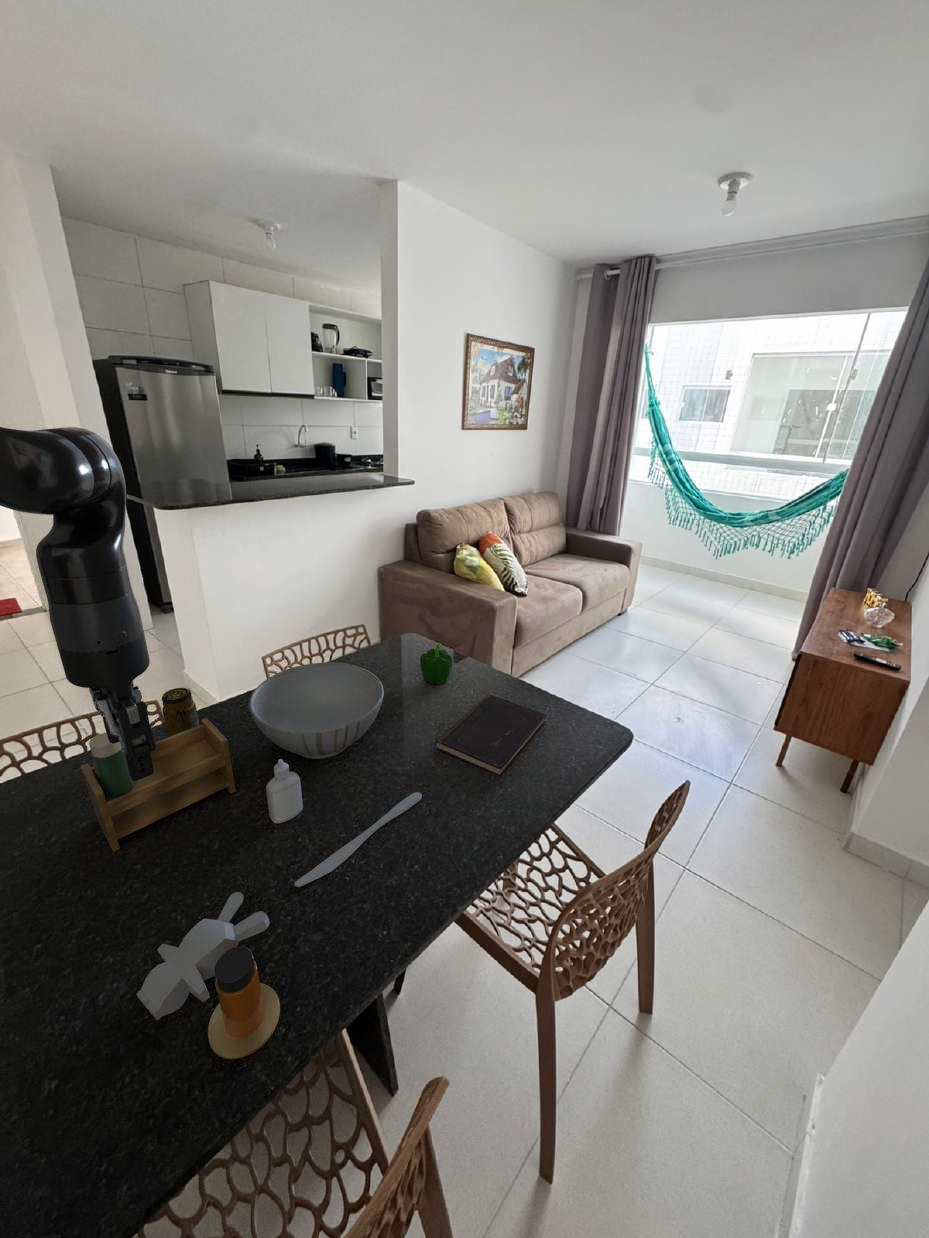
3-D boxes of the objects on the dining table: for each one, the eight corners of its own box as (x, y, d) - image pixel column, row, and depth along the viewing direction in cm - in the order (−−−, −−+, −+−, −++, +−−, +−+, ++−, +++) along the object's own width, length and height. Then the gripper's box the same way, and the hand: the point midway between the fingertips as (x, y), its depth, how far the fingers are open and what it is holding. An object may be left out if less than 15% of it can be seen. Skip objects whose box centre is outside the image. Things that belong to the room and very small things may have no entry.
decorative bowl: (343, 798, 96) (340, 746, 91) (227, 763, 103) (218, 712, 98) (404, 721, 119) (404, 676, 114) (305, 696, 126) (301, 653, 122)
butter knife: (427, 797, 96) (416, 789, 98) (301, 892, 77) (290, 880, 79) (427, 799, 96) (416, 791, 98) (301, 895, 77) (290, 882, 79)
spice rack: (113, 852, 82) (95, 794, 78) (97, 821, 88) (80, 765, 83) (236, 791, 96) (227, 739, 91) (216, 768, 102) (206, 717, 97)
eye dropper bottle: (303, 820, 90) (297, 766, 86) (269, 825, 89) (261, 771, 84) (303, 802, 94) (297, 750, 89) (271, 807, 93) (263, 754, 88)
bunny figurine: (119, 972, 62) (228, 876, 73) (133, 994, 65) (237, 898, 75) (162, 1023, 57) (271, 912, 68) (175, 1044, 60) (279, 933, 71)
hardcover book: (545, 722, 121) (546, 714, 120) (500, 777, 103) (501, 768, 102) (486, 701, 129) (487, 693, 128) (434, 748, 110) (435, 740, 109)
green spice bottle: (107, 802, 82) (91, 751, 78) (99, 788, 84) (84, 738, 80) (137, 789, 85) (124, 739, 80) (129, 775, 87) (116, 727, 83)
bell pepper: (439, 692, 131) (440, 657, 127) (414, 681, 135) (414, 648, 131) (457, 678, 138) (459, 645, 134) (433, 669, 142) (434, 637, 138)
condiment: (189, 728, 113) (180, 681, 108) (216, 740, 109) (208, 692, 104) (158, 746, 107) (147, 697, 102) (186, 759, 103) (175, 710, 98)
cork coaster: (226, 1077, 57) (225, 1074, 56) (197, 1019, 61) (196, 1017, 61) (292, 1020, 62) (292, 1017, 62) (261, 971, 67) (260, 969, 67)
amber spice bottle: (235, 1046, 59) (222, 993, 55) (218, 1016, 61) (205, 963, 57) (271, 1016, 62) (262, 963, 58) (254, 989, 64) (244, 936, 60)
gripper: (42, 618, 55) (77, 741, 62) (73, 670, 46) (111, 807, 53) (121, 603, 60) (146, 718, 67) (164, 647, 51) (188, 774, 58)
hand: (131, 757), depth 60 cm, fingers open, 8 cm apart
